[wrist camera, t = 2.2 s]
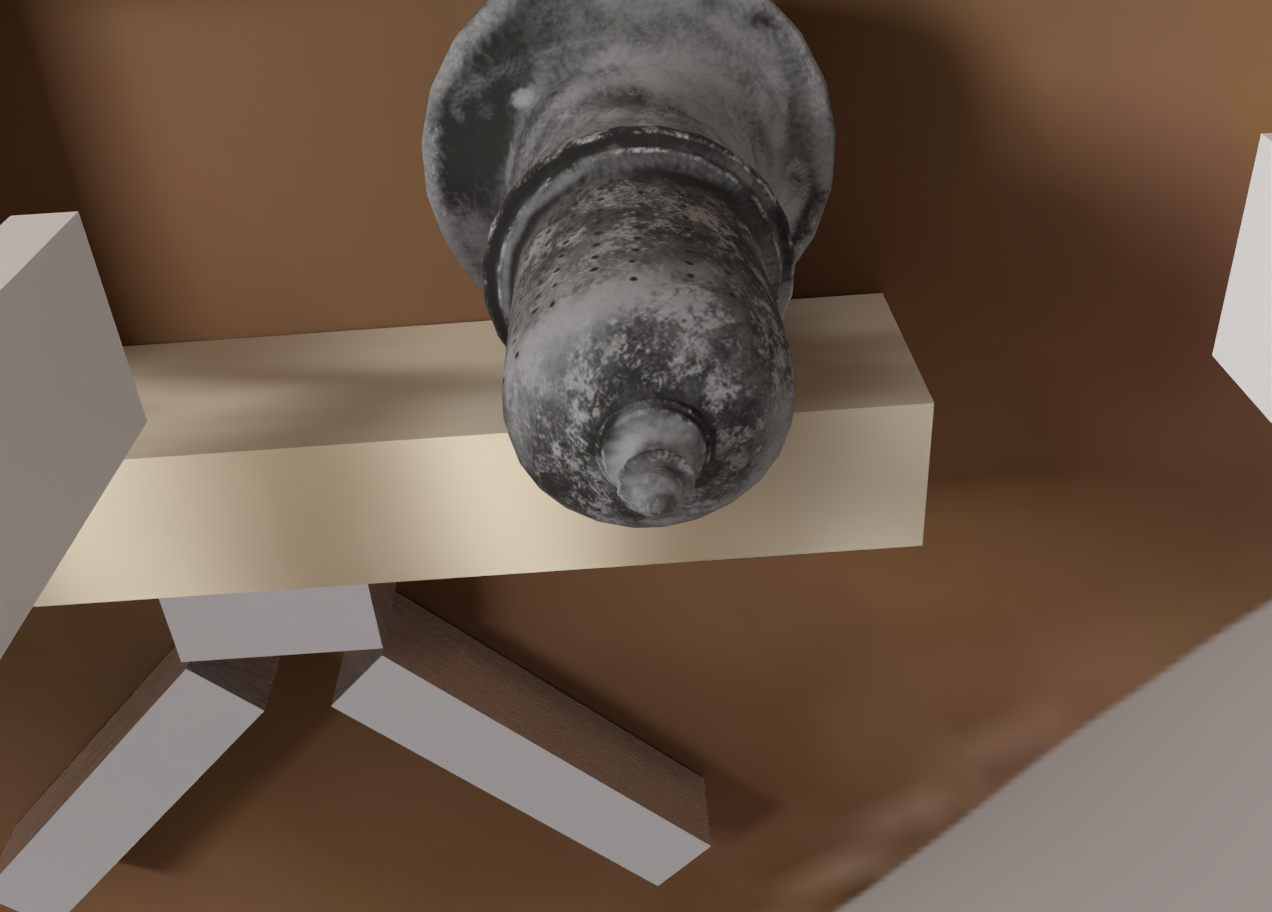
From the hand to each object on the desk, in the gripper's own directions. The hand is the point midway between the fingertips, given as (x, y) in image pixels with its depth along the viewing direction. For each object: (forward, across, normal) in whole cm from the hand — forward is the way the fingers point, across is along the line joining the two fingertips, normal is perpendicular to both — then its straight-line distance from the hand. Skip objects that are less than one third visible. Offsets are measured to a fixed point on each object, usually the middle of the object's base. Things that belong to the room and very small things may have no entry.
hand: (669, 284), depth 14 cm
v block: (+7, -8, -13) cm, 17 cm away
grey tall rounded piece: (+8, 0, 0) cm, 8 cm away
